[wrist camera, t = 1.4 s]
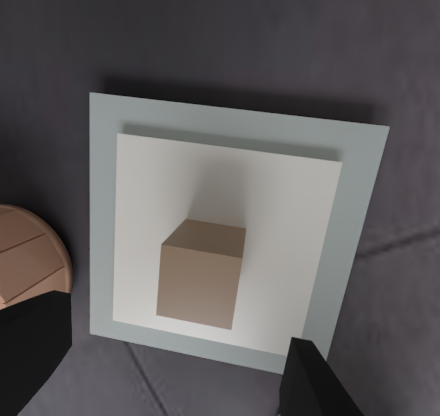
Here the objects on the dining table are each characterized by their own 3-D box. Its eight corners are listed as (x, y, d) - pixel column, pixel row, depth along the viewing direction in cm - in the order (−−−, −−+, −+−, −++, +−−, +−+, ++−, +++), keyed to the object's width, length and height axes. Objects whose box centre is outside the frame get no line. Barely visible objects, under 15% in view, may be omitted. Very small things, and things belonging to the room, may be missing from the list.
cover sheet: (338, 161, 14) (377, 169, 9) (294, 350, 17) (308, 424, 12) (122, 133, 15) (66, 129, 11) (117, 314, 18) (72, 370, 14)
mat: (386, 126, 14) (389, 126, 13) (318, 377, 18) (320, 382, 17) (93, 93, 15) (89, 92, 15) (93, 329, 19) (90, 333, 19)
